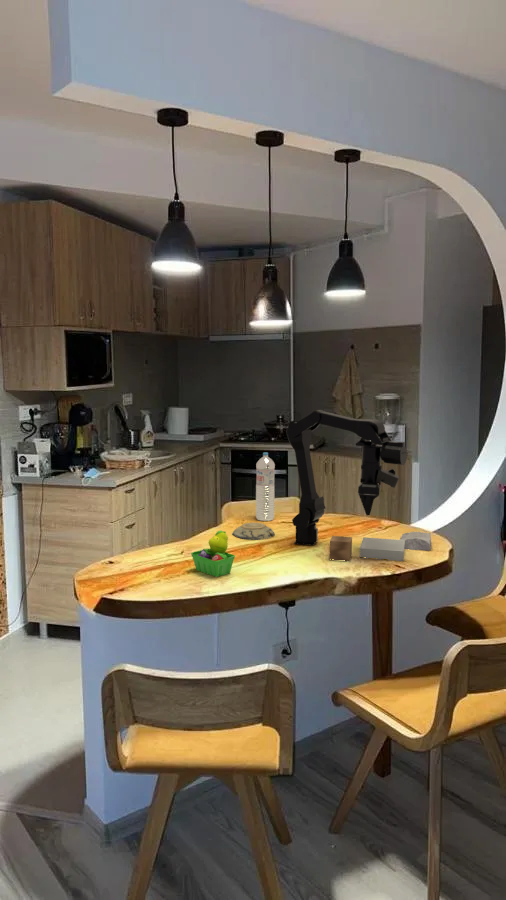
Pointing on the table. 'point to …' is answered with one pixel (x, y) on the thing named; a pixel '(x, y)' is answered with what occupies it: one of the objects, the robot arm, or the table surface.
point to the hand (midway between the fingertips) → (368, 511)
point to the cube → (340, 548)
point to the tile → (382, 548)
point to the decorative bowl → (253, 531)
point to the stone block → (417, 541)
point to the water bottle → (265, 489)
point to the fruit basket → (214, 556)
